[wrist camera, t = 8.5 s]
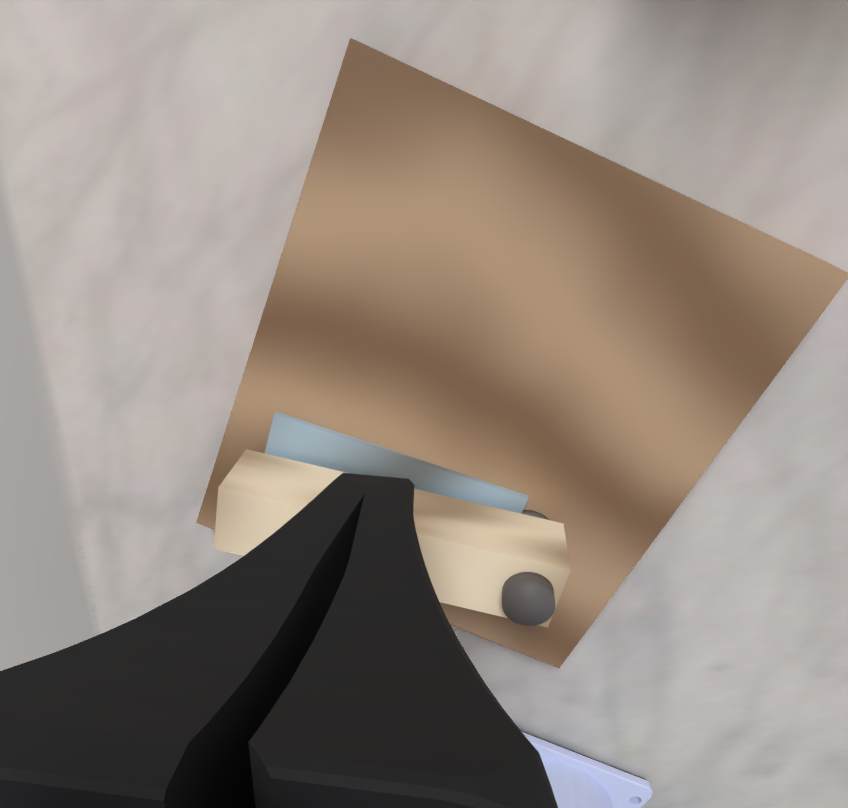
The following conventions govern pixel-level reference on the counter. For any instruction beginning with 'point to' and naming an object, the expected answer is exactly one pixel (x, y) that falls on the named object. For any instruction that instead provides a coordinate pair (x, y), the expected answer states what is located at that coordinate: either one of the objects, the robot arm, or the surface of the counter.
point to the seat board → (511, 328)
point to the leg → (436, 530)
